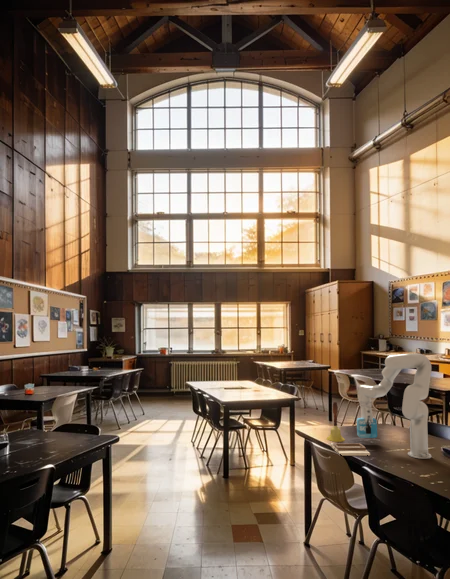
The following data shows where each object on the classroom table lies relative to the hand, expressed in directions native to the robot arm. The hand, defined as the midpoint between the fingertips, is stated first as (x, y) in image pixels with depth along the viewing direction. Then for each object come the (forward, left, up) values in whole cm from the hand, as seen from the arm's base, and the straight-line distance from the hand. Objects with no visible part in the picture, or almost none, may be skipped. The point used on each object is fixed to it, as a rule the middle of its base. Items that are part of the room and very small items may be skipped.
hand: (367, 432), depth 285 cm
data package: (0, 0, -3) cm, 3 cm away
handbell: (+12, +18, -7) cm, 22 cm away
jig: (-15, +17, -7) cm, 24 cm away
